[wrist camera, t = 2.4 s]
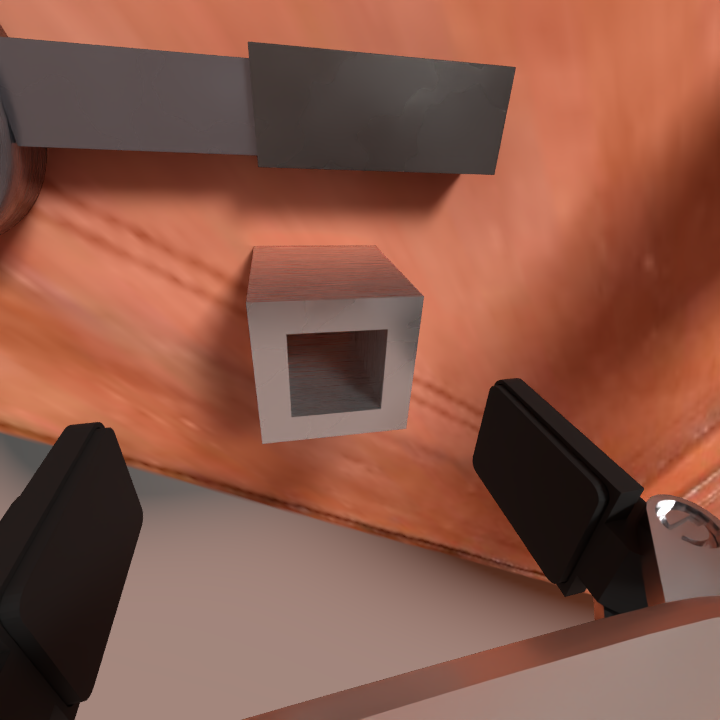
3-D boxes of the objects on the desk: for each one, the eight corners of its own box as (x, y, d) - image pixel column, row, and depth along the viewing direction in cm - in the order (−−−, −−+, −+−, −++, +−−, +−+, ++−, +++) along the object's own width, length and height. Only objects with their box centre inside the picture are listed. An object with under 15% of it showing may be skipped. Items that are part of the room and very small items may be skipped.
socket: (375, 245, 16) (424, 296, 11) (368, 348, 19) (406, 428, 14) (253, 246, 15) (245, 302, 10) (264, 355, 18) (262, 443, 13)
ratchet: (498, -39, 12) (638, -145, 8) (452, 245, 17) (521, 287, 12) (-560, -202, 8) (-1853, -726, 3) (-228, 249, 12) (-535, 320, 8)
